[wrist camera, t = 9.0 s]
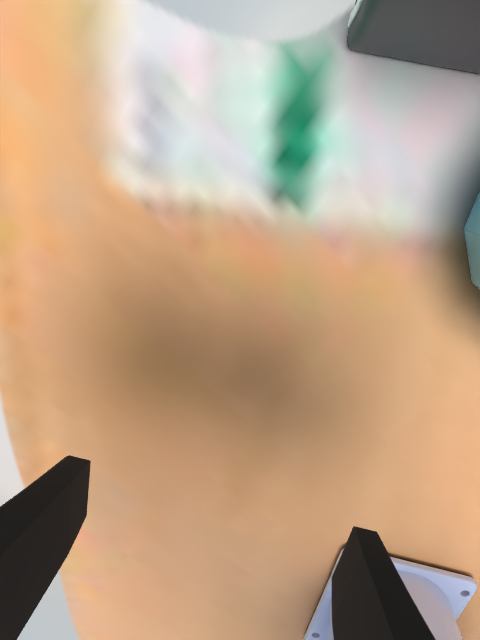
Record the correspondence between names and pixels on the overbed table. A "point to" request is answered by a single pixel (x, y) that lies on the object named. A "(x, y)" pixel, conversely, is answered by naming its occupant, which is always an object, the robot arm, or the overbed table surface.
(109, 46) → the overbed table surface
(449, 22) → the battery charger
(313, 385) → the overbed table surface
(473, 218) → the bowl
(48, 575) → the robot arm
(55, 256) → the overbed table surface
